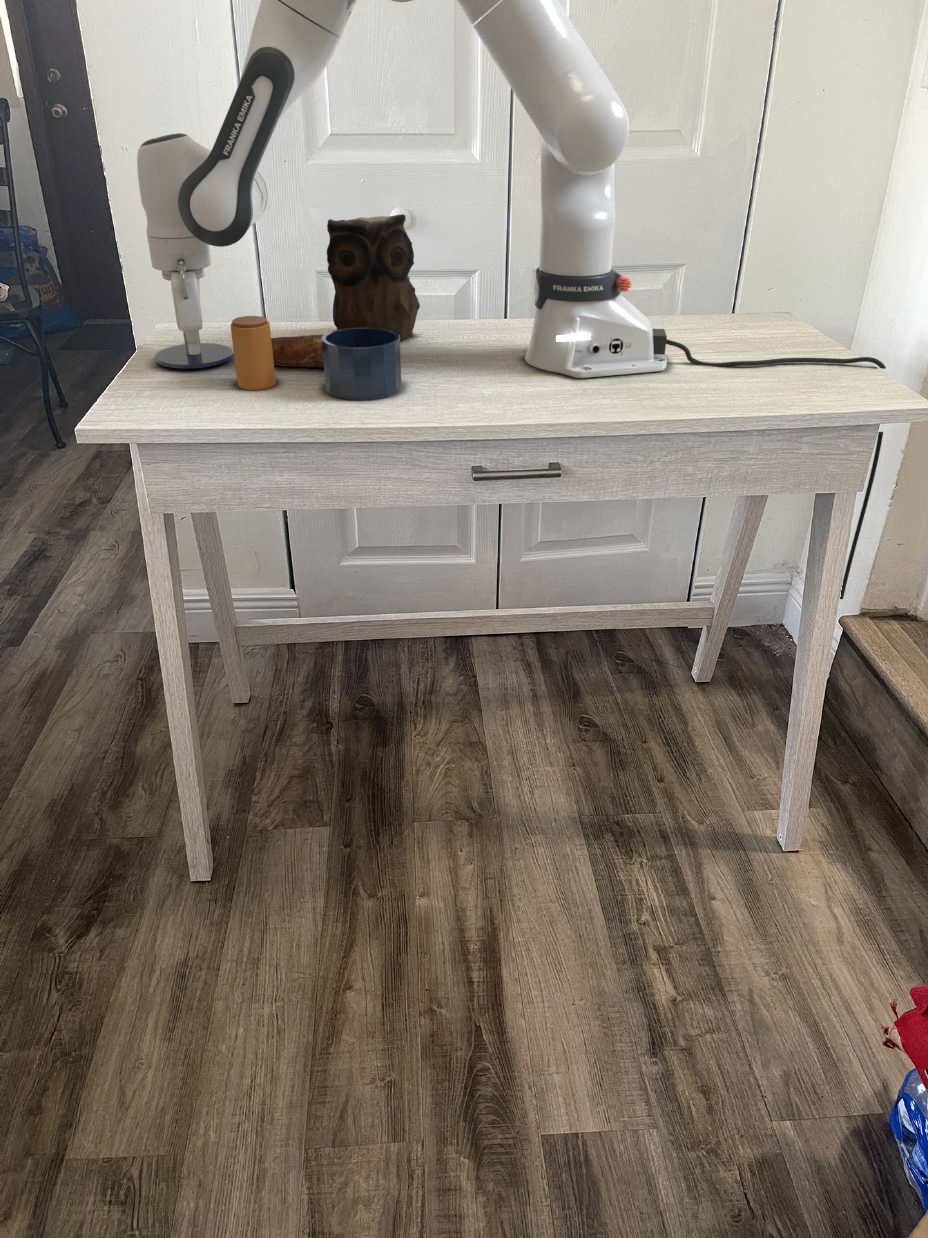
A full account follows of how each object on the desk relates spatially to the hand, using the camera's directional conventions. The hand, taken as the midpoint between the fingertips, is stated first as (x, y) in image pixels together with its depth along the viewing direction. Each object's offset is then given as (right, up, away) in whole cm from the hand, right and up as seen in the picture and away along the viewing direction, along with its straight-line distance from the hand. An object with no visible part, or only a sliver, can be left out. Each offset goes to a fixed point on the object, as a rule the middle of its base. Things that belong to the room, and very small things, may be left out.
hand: (194, 344), depth 151 cm
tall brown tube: (+12, -8, -9) cm, 17 cm away
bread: (+18, -4, -1) cm, 19 cm away
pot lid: (0, -2, +1) cm, 2 cm away
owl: (+28, +6, +14) cm, 31 cm away
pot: (+28, -9, -10) cm, 31 cm away
